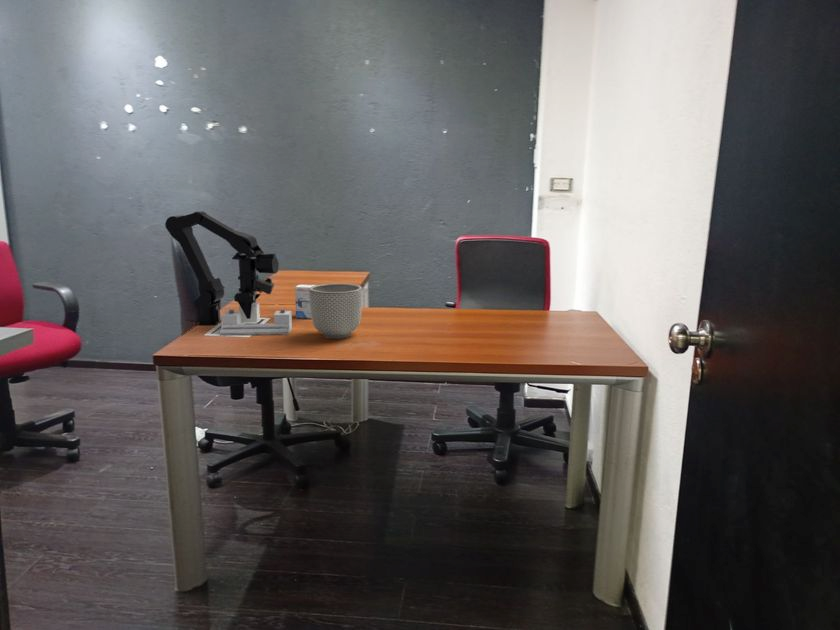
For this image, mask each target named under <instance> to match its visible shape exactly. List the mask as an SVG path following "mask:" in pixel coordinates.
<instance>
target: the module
mask: <svg viewBox="0 0 840 630" xmlns="http://www.w3.org/2000/svg"><path fill="white" fill-rule="evenodd" d="M238 311H241V324H252V323H258V322H259V321H260V319H261V316H260V313H261V312H260V302H256V303H252V309H251V318H250V319H247V318H246V316H245V314H244V312H243V310H242V308H241V307H240V305H239V304H238Z"/></svg>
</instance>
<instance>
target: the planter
mask: <svg viewBox="0 0 840 630" xmlns="http://www.w3.org/2000/svg"><path fill="white" fill-rule="evenodd" d="M314 285H315V286H312V287H310V288H309V300H310V309H311V316H312V318H311V321H312V324H313V326H314V328H315V329H316V330H317V331H318V332H320V333H322V336H323V337H324V338H326V339H329V340H331V339H332V340H340V339H346V338H349V337H350V336H351V335H352V333H353V332H354V331H356V330H357V328H358V327H359V326H360V323H361V319H362V311H363V295H364V293H363V292H364V291H363V287H362V286H361V285H359V284H355V283H342V282H341V283H339V282H338V283H335V282H334V283H322V284H314Z"/></svg>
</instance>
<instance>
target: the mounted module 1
mask: <svg viewBox="0 0 840 630" xmlns="http://www.w3.org/2000/svg"><path fill="white" fill-rule="evenodd" d="M220 317H221V325H222V324H242V323H241V311H239V310H238V311H237V310H235V309H233V308H232V309H229V310H227V311H224V312H223V314H220Z"/></svg>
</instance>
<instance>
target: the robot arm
mask: <svg viewBox="0 0 840 630" xmlns="http://www.w3.org/2000/svg"><path fill="white" fill-rule="evenodd" d="M164 225H165V229H166V230H167V232H168V233H169V234H170V236H171V237H172V238H173V240H175V241H176V242H178V244H179V245H180V247H181V249H182V251H183V253H184V255H185V257H186V260H187V261H188V264H189V266H190V267H191V269H192V271H193V273H194V275H195V278H196V279H197V290H198V293H199V296H198V297H197V298H196V299H195V300H194V302H193V304H194V306H195V308H196V309H197V313H198V323H197V325H198V326H200V325H201V326H207V325H210V326H212V325H213V326H215V325H218V323H220V322H221V321H222V317H221V309H219V305H220V304H221V300H222V299H223V297H224V296H225V286H224V285H223V284H222V281H221V278H220V277H217V278H215V277H214V276H212V274H211V272H210V270H209V268H208V267H207V264H206V262H205V260H204V258H203V256H202V254H201V252H200V250H199V248H198V246H197V243H196V241H195V239H194V236H193V235H194V232H193V231H194V230H193V227H195V226H197V225H199V226H201V227H202V228H204V229H206V230H208V231H210V233H211V232H212V233H213V234H214V235H216V236H218V237H220V238H222V239H223V240H224V241H226V242H227V243H228V244H229V245H230V246H231V247H232V248H233V249H234V250H235V251H236V253H235V255H234V256H232V258H231V259H232V260H236V261H237V260H238V261H237V262H238V272H239V274H238V276H237V279H238V281H239V287H238V292H236V293H235V295H234V296H233V299H234V302H237V303H238V306H239V305H240V307H241V308H242V310H243V312H244V314H245V316H246V318H247V319H250V318H251V309H252V303H257V299H258V298H259V297H260V296H261V295H262V293H265V294H267V295H271V293H272V292H273V289H274V286H275V283H274V282H273V279H272V278H270V277H267V278H265V279H261V278H260V276H259V275H258V274H257V272H258V273H259V274H277V273H278V272H279V268H280V267H279V266H280V262H279V261H278V258H277V256H276V255H277V254H276V253H274V252H273V253H271V252H270V253H265V252H264V251H263V250H262V248H261V247H260V246H259V244H258V241H257V238H256V237H255V236H253V235H251V234H248V233H245V232H242V231H238V230H235V229H233V228H232V227H230V226H228V225H226V224H225V223H222V222H221V221H219V220H218V219H216V218H214V217H212V215H211V216H210V215H209V214H208V213H207V212H205V211H203V210H202V211H201V210H199V211H194V212H192V213H189V214H186V215H184V214H181V215H172V216H169V217H168V218H167V219H166V220H165V222H164ZM257 292H259V293H257Z"/></svg>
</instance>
